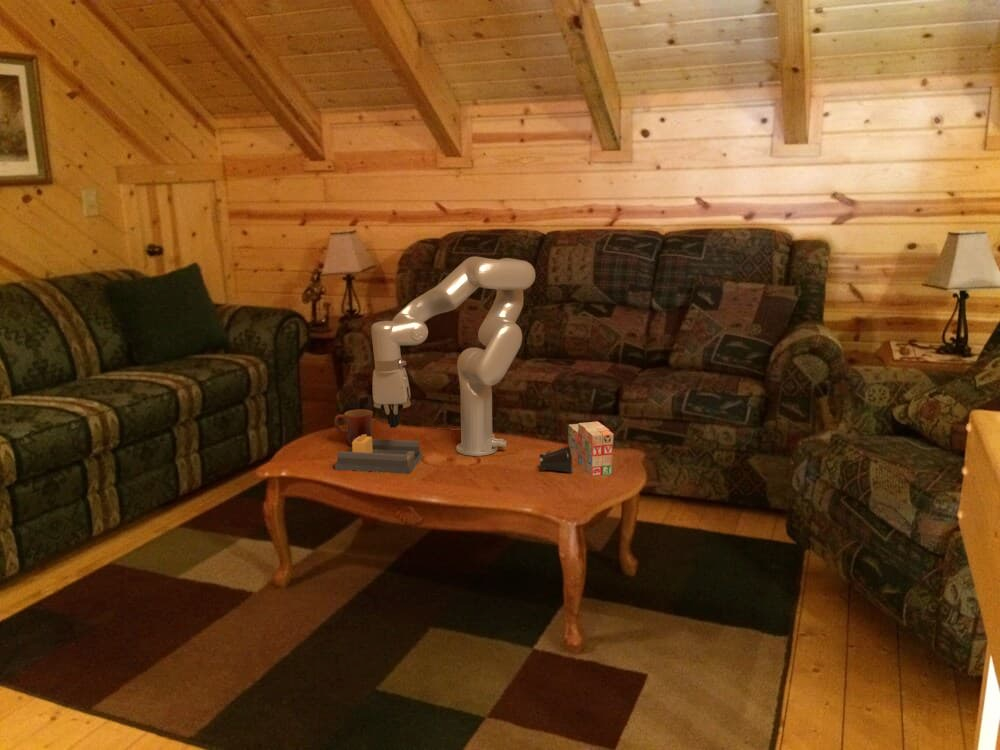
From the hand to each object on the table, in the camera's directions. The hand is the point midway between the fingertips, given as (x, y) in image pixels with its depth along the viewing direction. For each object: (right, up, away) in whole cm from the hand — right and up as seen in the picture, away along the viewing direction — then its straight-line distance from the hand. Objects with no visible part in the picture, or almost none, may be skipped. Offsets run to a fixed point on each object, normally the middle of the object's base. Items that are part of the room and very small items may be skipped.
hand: (394, 426), depth 245 cm
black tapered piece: (+47, -12, +1) cm, 49 cm away
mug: (-15, -7, +21) cm, 27 cm away
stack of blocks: (+57, -11, +1) cm, 58 cm away
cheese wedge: (-10, -9, +3) cm, 13 cm away
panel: (-5, -11, +2) cm, 12 cm away
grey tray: (-5, -9, +2) cm, 11 cm away
